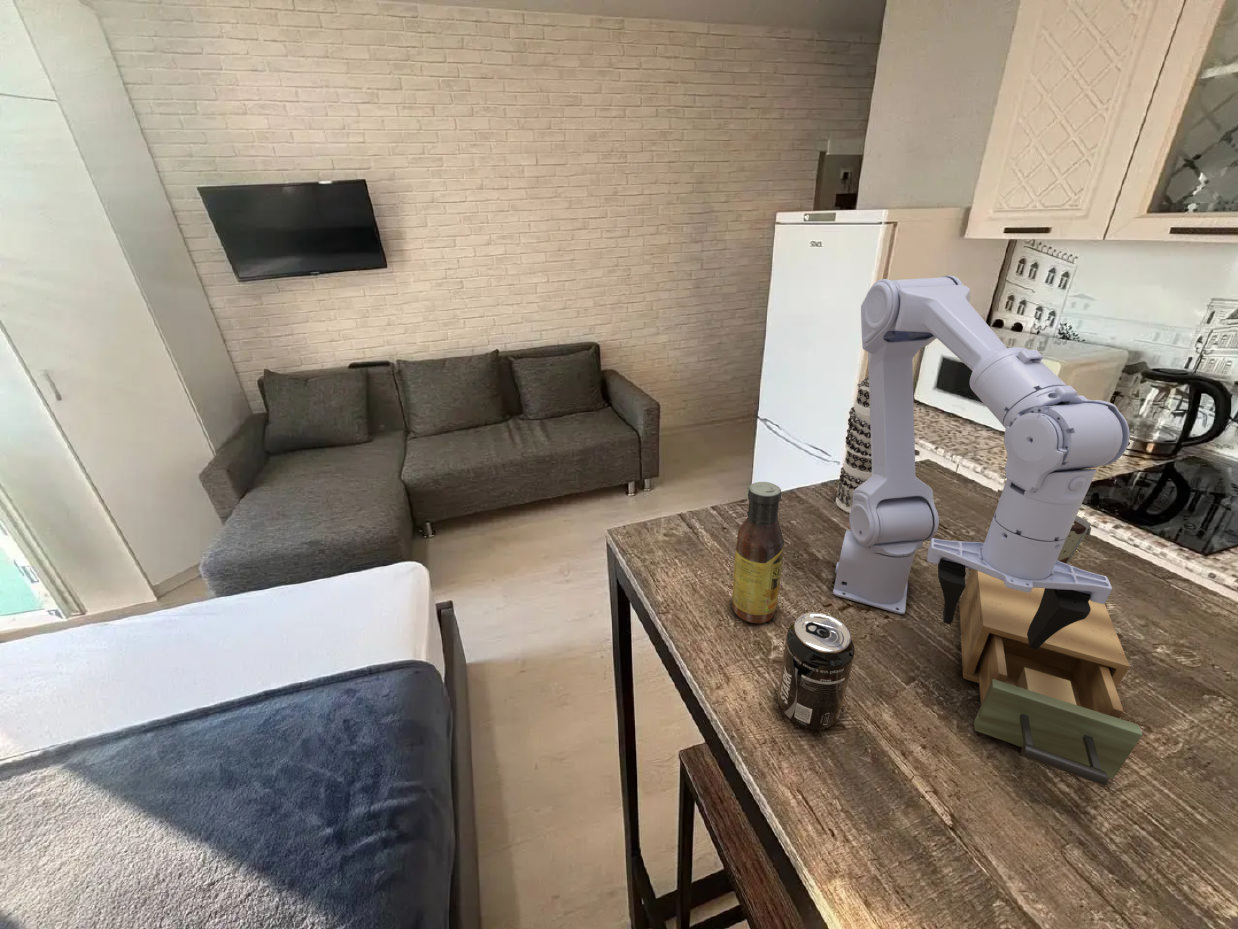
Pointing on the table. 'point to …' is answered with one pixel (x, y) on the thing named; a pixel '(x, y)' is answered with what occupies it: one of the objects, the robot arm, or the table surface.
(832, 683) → the beverage can
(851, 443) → the decorative candle
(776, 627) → the table surface
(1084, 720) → the drawer
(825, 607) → the table surface
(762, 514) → the sauce bottle
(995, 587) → the cabinet
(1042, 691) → the block
